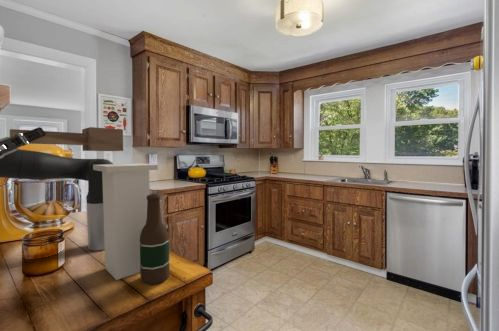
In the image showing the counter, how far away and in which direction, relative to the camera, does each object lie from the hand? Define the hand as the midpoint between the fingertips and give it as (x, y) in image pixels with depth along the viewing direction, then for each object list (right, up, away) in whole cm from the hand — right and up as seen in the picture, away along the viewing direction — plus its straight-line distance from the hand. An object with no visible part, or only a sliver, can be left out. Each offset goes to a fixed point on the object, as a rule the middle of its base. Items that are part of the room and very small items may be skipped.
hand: (41, 131), depth 62 cm
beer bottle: (+24, -41, +10) cm, 48 cm away
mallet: (+4, -4, +4) cm, 7 cm away
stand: (+13, -40, +17) cm, 45 cm away
